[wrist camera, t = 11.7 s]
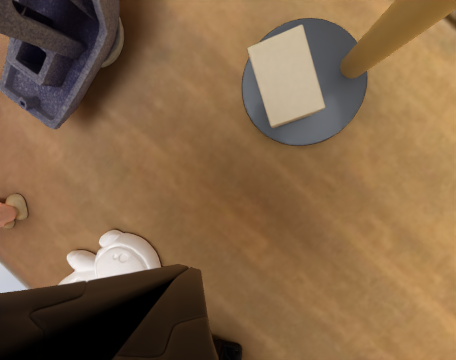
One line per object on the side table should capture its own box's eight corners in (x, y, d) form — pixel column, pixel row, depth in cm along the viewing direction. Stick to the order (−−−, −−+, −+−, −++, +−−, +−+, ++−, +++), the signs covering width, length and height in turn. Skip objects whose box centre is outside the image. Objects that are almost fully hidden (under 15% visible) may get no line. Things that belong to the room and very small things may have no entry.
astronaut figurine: (50, 263, 26) (21, 279, 23) (135, 215, 23) (115, 227, 20) (93, 331, 27) (70, 355, 24) (182, 293, 24) (169, 315, 21)
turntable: (374, 123, 18) (695, 90, 4) (262, 158, 20) (233, 214, 6) (344, 4, 17) (632, -538, 3) (229, 53, 19) (109, -156, 5)
